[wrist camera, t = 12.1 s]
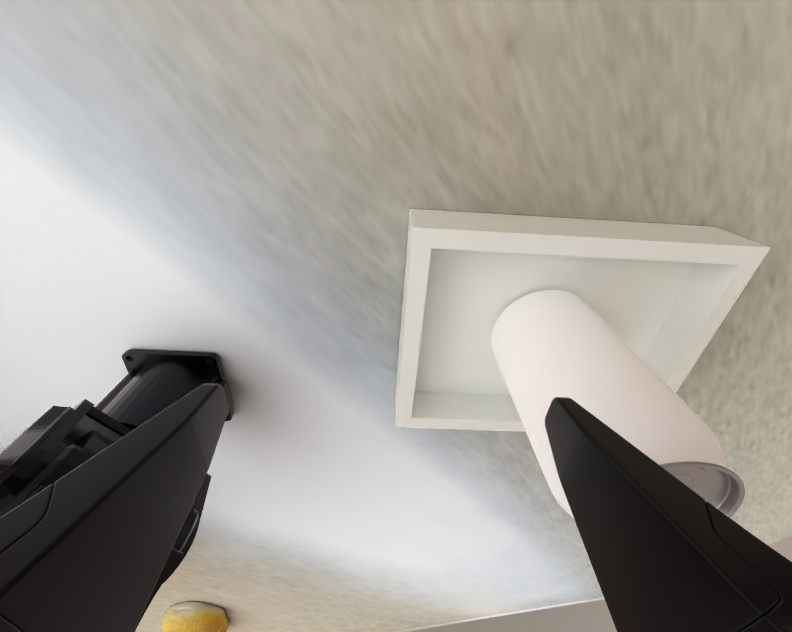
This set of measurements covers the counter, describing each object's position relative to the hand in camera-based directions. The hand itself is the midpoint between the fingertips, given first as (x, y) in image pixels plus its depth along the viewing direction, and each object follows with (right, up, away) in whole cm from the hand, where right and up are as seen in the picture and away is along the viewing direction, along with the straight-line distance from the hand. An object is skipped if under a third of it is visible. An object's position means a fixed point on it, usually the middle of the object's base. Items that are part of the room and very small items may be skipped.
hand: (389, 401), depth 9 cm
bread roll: (-27, -39, +39) cm, 62 cm away
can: (+10, +2, +13) cm, 17 cm away
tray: (+10, +2, +14) cm, 17 cm away
